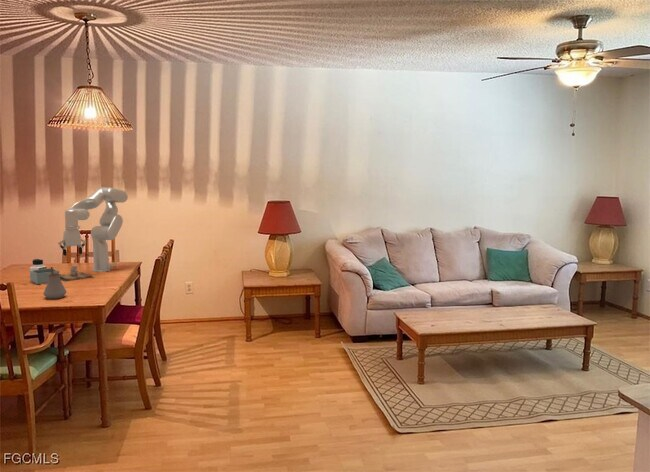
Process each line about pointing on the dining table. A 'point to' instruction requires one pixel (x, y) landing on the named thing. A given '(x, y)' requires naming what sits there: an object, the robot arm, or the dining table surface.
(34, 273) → the grey ceramic box
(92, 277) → the rubber mat
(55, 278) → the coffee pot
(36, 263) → the medicine bottle
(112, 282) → the dining table surface
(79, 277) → the walnut lid
